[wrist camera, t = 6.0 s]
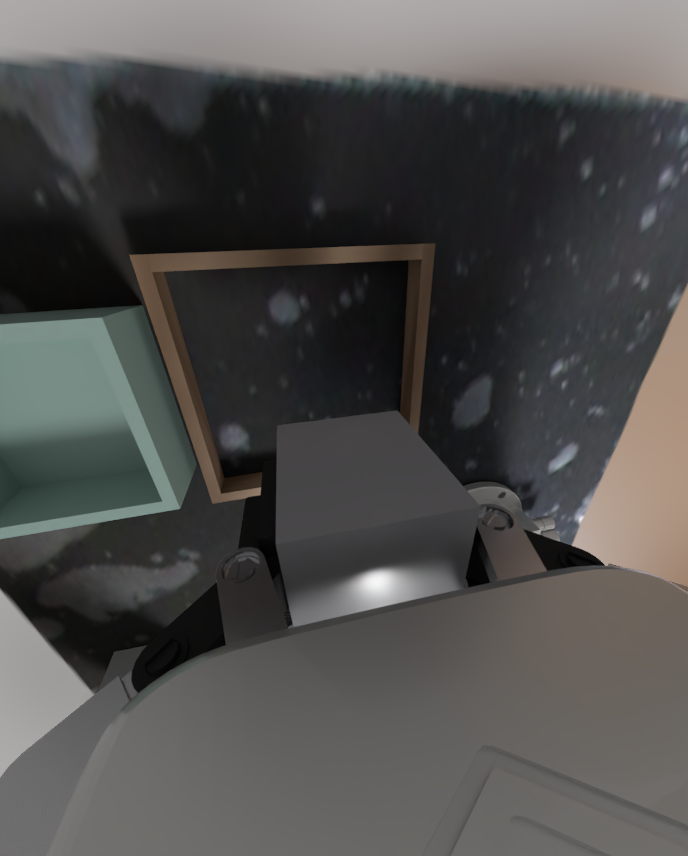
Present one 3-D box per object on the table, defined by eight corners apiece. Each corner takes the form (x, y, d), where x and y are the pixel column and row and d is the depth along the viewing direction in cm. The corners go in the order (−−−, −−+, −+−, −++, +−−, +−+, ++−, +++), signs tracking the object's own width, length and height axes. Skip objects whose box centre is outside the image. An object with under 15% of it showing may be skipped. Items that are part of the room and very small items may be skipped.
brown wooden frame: (420, 245, 20) (435, 243, 18) (405, 456, 28) (414, 469, 26) (143, 256, 17) (129, 254, 15) (216, 487, 25) (212, 503, 23)
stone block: (397, 410, 13) (481, 506, 7) (393, 501, 15) (455, 624, 10) (277, 425, 12) (275, 544, 7) (292, 518, 14) (300, 661, 9)
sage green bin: (142, 305, 18) (101, 317, 14) (196, 464, 23) (180, 508, 19) (-95, 320, 16) (-230, 340, 12) (26, 489, 22) (-35, 544, 17)
